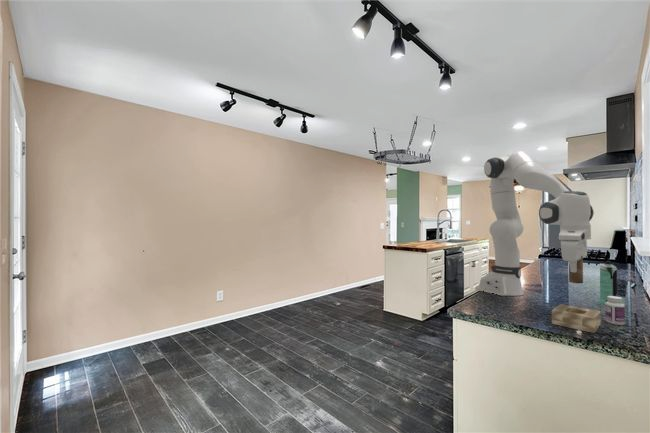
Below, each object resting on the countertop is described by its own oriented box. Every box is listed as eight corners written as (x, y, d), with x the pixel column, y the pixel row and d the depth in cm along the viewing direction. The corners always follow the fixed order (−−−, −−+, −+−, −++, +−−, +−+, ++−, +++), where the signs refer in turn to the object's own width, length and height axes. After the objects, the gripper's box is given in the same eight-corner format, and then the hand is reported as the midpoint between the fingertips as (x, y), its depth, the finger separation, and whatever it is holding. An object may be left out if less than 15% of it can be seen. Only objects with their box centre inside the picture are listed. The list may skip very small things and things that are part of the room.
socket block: (551, 323, 112) (551, 310, 112) (560, 316, 119) (560, 304, 119) (594, 333, 103) (594, 318, 103) (600, 324, 110) (600, 311, 110)
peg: (567, 282, 111) (567, 255, 111) (570, 280, 114) (570, 254, 114) (581, 283, 108) (581, 256, 108) (584, 282, 111) (583, 255, 111)
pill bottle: (625, 322, 112) (625, 297, 112) (624, 326, 108) (624, 299, 108) (605, 319, 116) (605, 294, 116) (604, 322, 112) (604, 297, 112)
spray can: (620, 308, 129) (620, 262, 129) (606, 307, 130) (605, 261, 130) (611, 304, 135) (610, 260, 135) (597, 303, 136) (596, 260, 136)
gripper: (571, 232, 120) (571, 266, 120) (557, 235, 107) (557, 273, 107) (592, 233, 115) (592, 268, 115) (579, 235, 102) (580, 276, 102)
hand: (575, 271), depth 111 cm, fingers closed on peg, 4 cm apart
